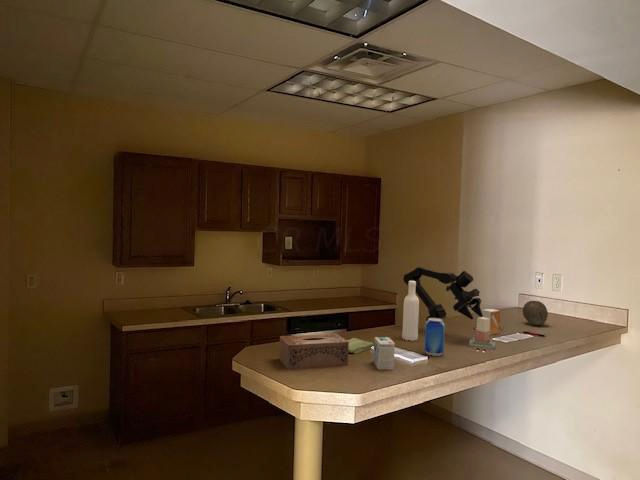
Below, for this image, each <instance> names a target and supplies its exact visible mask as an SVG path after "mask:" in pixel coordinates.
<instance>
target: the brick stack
mask: <svg viewBox="0 0 640 480" xmlns="http://www.w3.org/2000/svg"><path fill="white" fill-rule="evenodd" d="M489 326H490V318H485V317H480V316H479V317H476V335H475V336H476V337H475V338H476V342H485V343H489V339H490V335H489Z"/></svg>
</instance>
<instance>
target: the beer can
mask: <svg viewBox="0 0 640 480" xmlns="http://www.w3.org/2000/svg"><path fill="white" fill-rule="evenodd" d="M445 328H446V326H445V323H444V321H443V320H442V319H439V318H428V321H427V320H426V322H425V332H424V333H425V335H424V336H425V337H424V352H425V353H426V355H428V356H431V355H432V357H439V356H442V355H443V353H444V347H445Z"/></svg>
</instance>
